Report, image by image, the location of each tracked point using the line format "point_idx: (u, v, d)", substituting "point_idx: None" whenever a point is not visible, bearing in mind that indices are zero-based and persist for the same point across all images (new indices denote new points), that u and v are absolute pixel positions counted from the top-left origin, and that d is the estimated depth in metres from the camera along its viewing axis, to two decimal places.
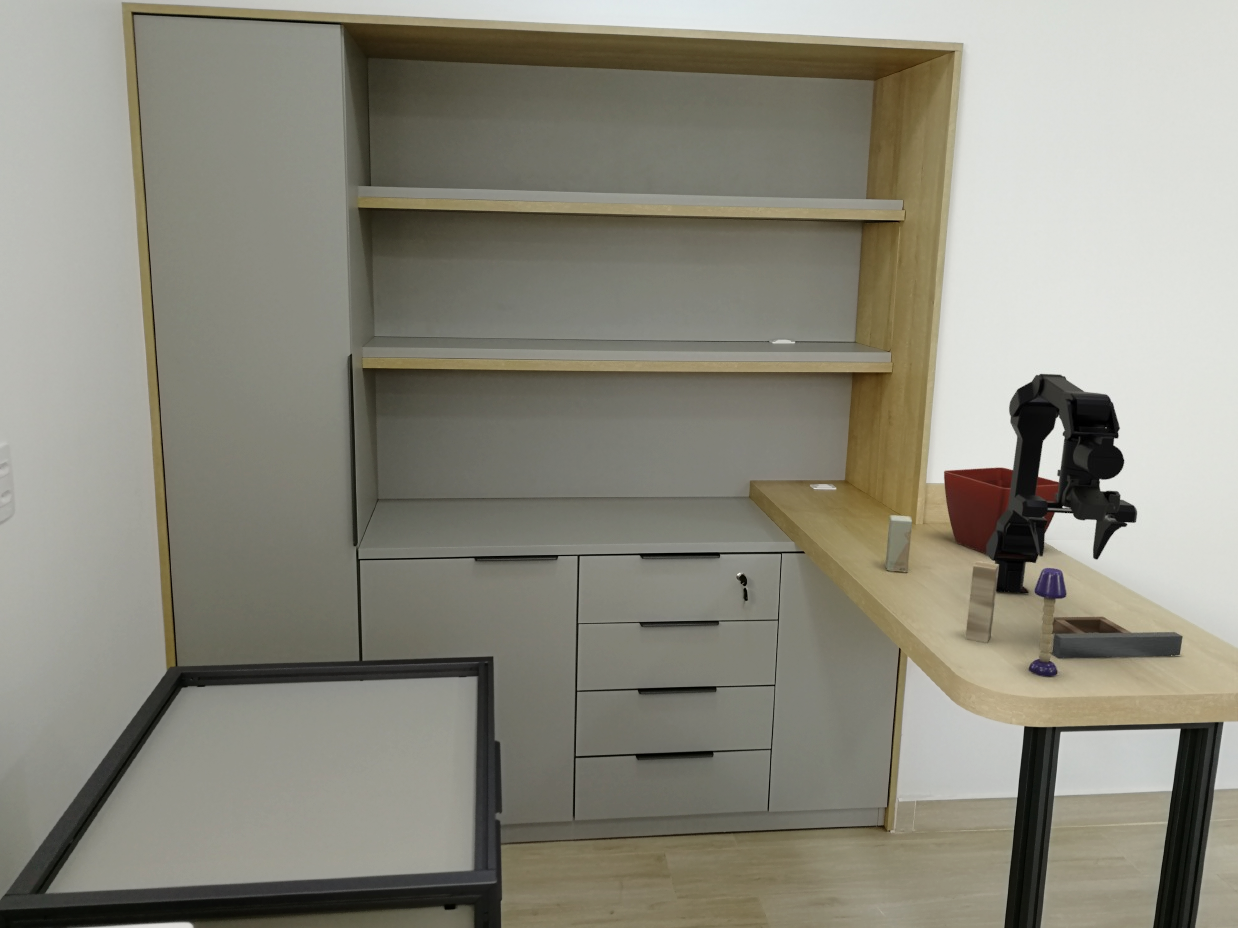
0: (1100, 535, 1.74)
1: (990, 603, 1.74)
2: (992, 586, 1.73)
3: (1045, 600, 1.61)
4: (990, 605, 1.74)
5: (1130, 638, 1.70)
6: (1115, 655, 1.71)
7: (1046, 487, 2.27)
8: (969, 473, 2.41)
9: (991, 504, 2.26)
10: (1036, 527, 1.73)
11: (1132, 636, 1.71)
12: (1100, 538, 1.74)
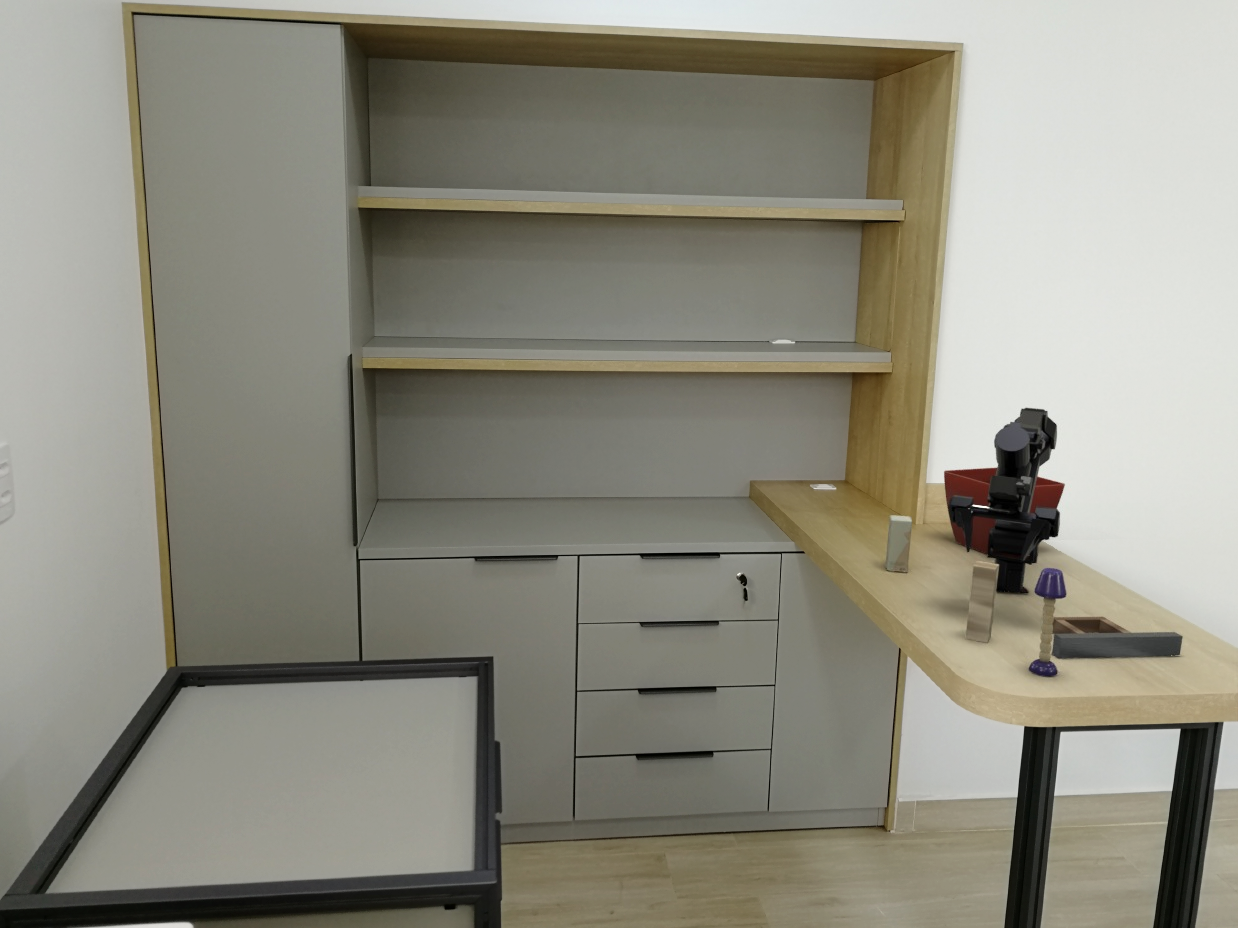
0: None
1: (990, 603, 1.74)
2: (992, 586, 1.73)
3: (1045, 600, 1.61)
4: (990, 605, 1.74)
5: (1130, 638, 1.70)
6: (1115, 655, 1.71)
7: (1046, 487, 2.27)
8: (969, 473, 2.41)
9: None
10: (962, 520, 1.86)
11: (1132, 636, 1.71)
12: None
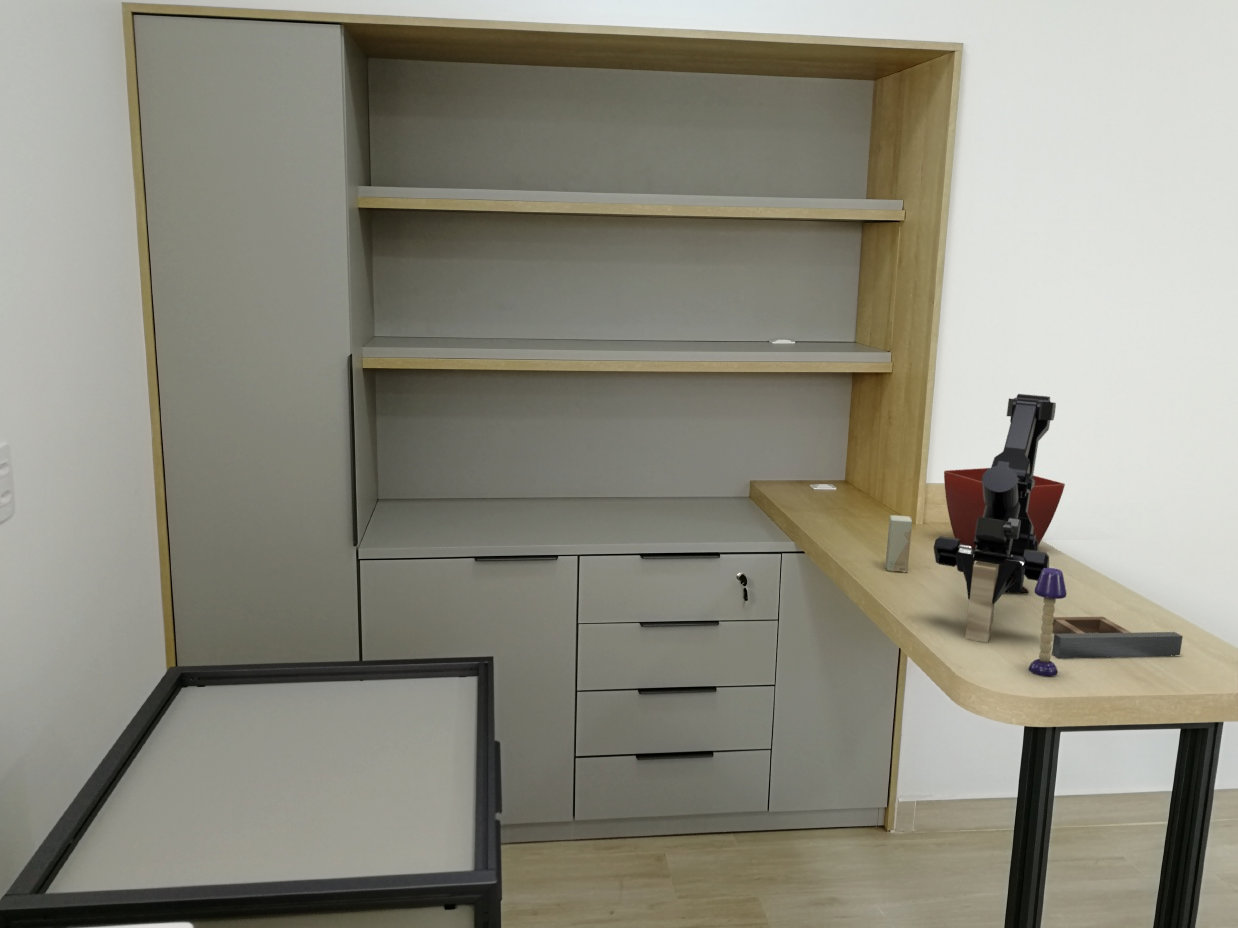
0: None
1: (990, 603, 1.74)
2: (992, 586, 1.73)
3: (1045, 600, 1.61)
4: (990, 605, 1.74)
5: (1130, 638, 1.70)
6: (1115, 655, 1.71)
7: (1046, 487, 2.27)
8: (969, 473, 2.41)
9: None
10: (964, 565, 1.78)
11: (1132, 636, 1.71)
12: (998, 581, 1.75)
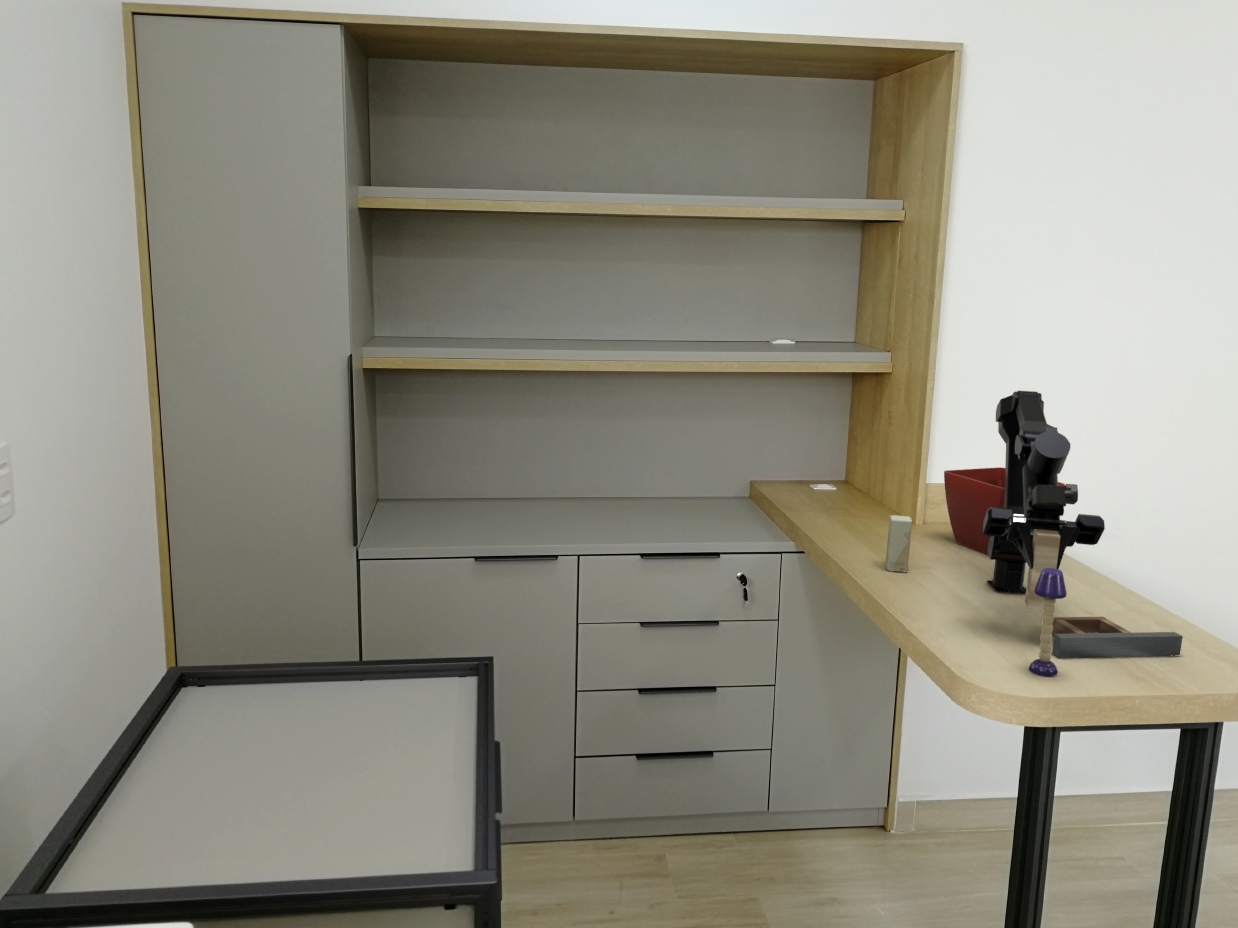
0: None
1: None
2: (1057, 553, 1.71)
3: (1045, 600, 1.61)
4: None
5: (1130, 638, 1.70)
6: (1115, 655, 1.71)
7: None
8: (969, 473, 2.41)
9: (991, 504, 2.26)
10: (1021, 534, 1.75)
11: (1132, 636, 1.71)
12: None
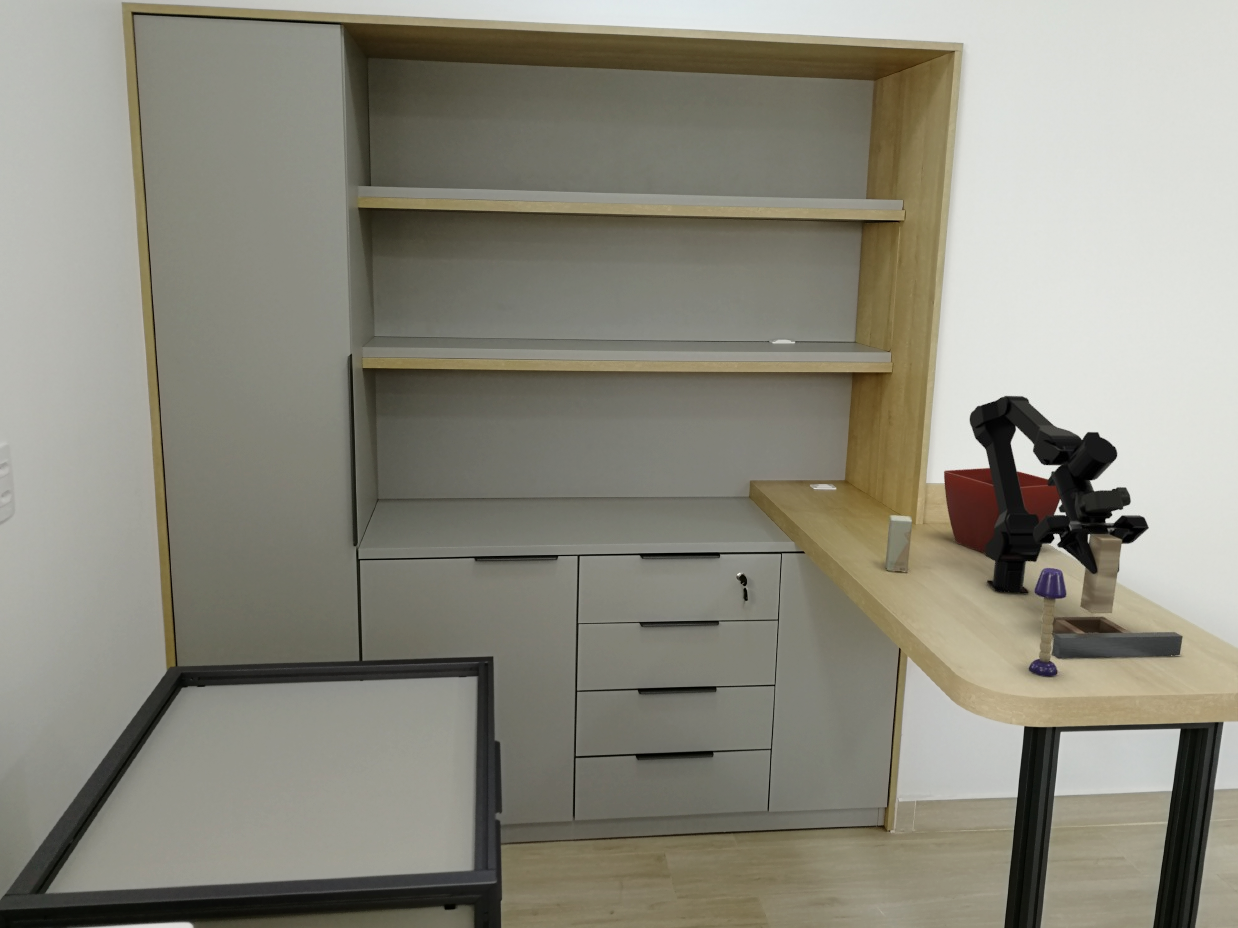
0: None
1: (1116, 574, 1.74)
2: (1118, 557, 1.74)
3: (1045, 600, 1.61)
4: (1116, 576, 1.75)
5: (1130, 638, 1.70)
6: (1115, 655, 1.71)
7: (1046, 487, 2.27)
8: (969, 473, 2.41)
9: (991, 504, 2.26)
10: (1080, 540, 1.76)
11: (1132, 636, 1.71)
12: None
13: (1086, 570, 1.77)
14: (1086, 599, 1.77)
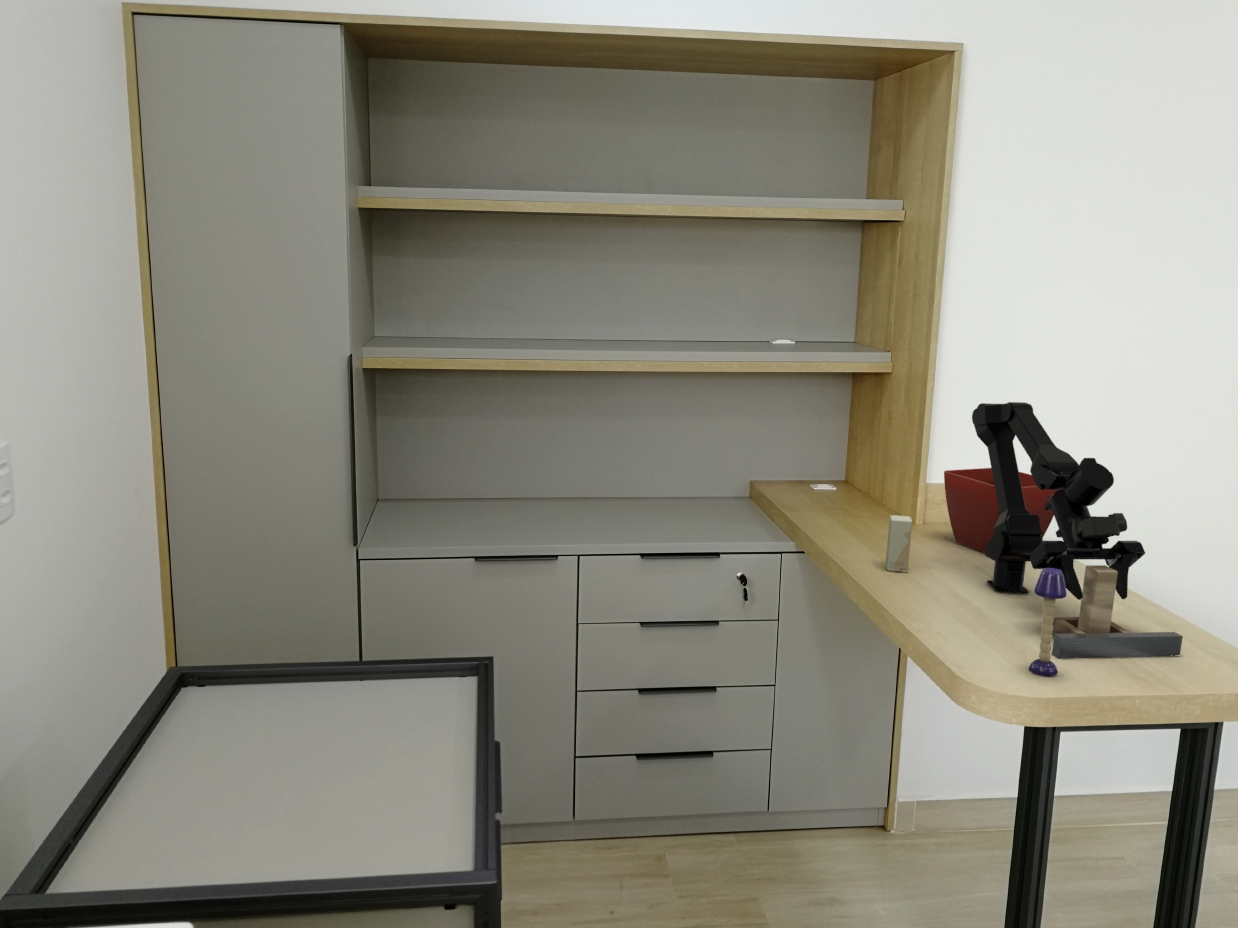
0: (1118, 575, 1.78)
1: (1112, 605, 1.75)
2: (1114, 588, 1.75)
3: (1045, 600, 1.61)
4: (1112, 607, 1.76)
5: (1130, 638, 1.70)
6: (1115, 655, 1.71)
7: None
8: (969, 473, 2.41)
9: (991, 504, 2.26)
10: (1065, 566, 1.76)
11: (1132, 636, 1.71)
12: (1119, 576, 1.78)
13: (1082, 601, 1.78)
14: (1082, 630, 1.78)
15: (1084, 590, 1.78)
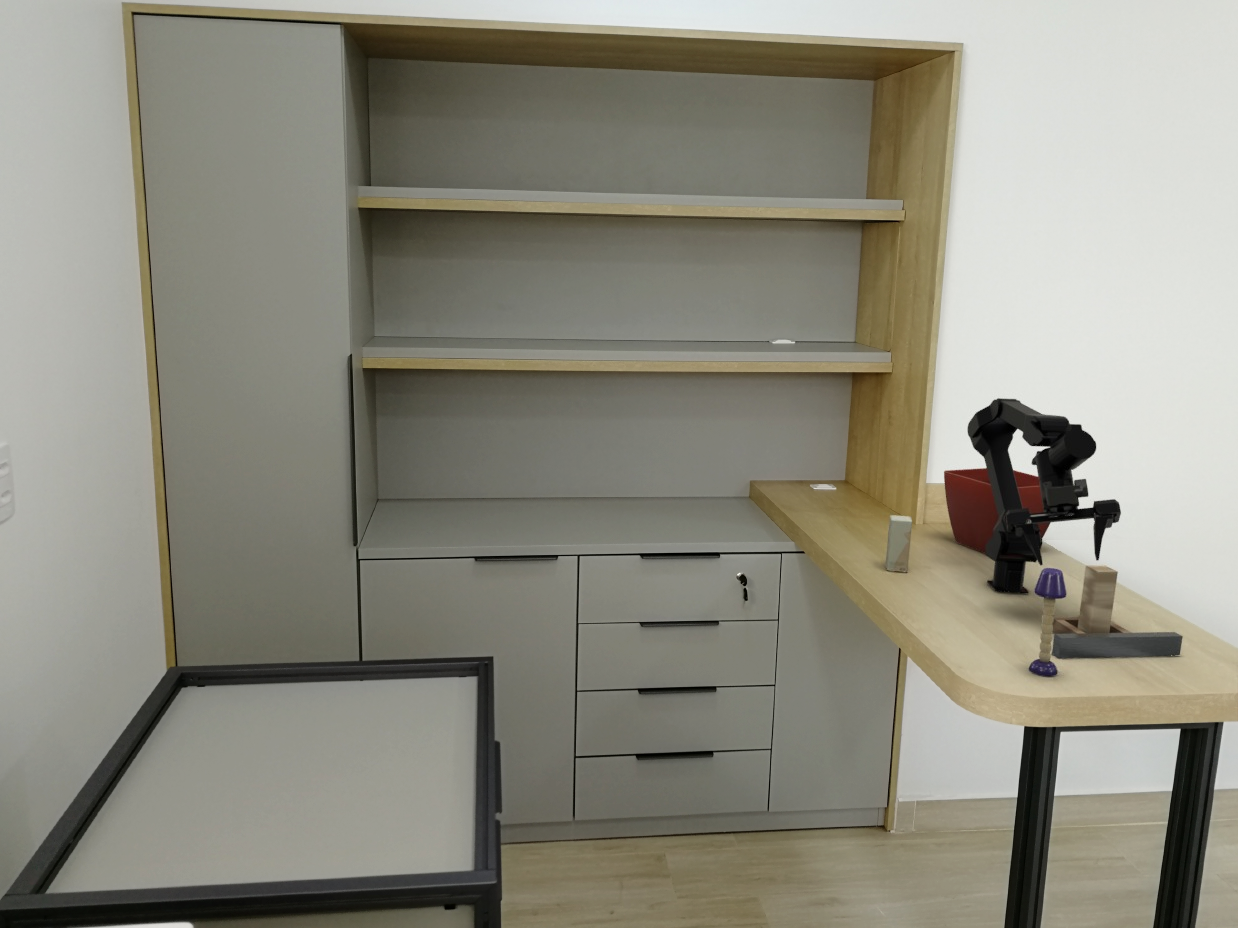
0: None
1: (1112, 605, 1.75)
2: (1114, 588, 1.75)
3: (1045, 600, 1.61)
4: (1111, 607, 1.76)
5: (1130, 638, 1.70)
6: (1115, 655, 1.71)
7: None
8: (969, 473, 2.41)
9: (991, 504, 2.26)
10: (1026, 534, 1.84)
11: (1132, 636, 1.71)
12: (1095, 538, 1.81)
13: (1082, 601, 1.78)
14: (1082, 630, 1.78)
15: (1084, 590, 1.78)
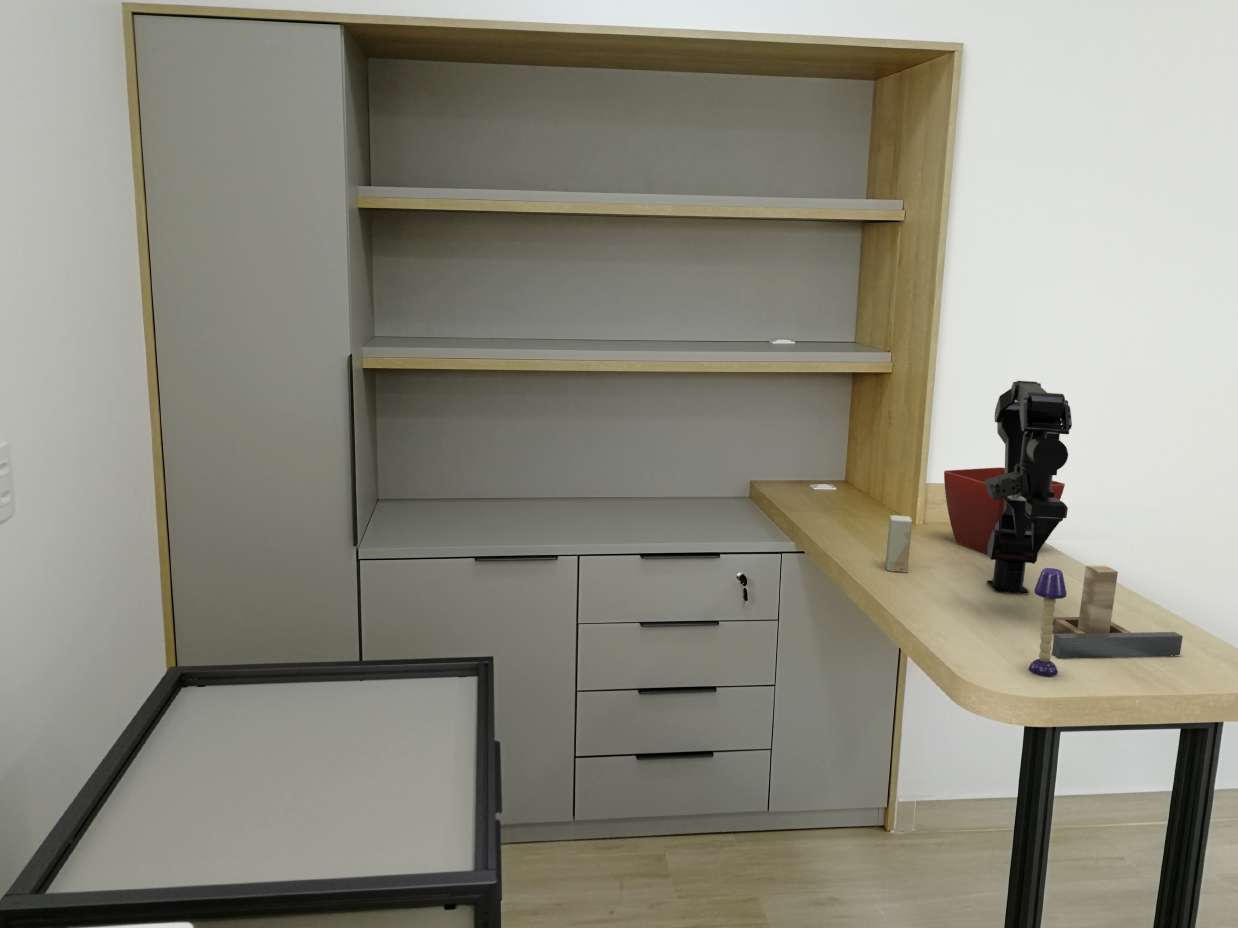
0: None
1: (1112, 605, 1.75)
2: (1114, 588, 1.75)
3: (1045, 600, 1.61)
4: (1112, 607, 1.76)
5: (1130, 638, 1.70)
6: (1115, 655, 1.71)
7: None
8: (969, 473, 2.41)
9: (991, 504, 2.26)
10: (1011, 507, 1.95)
11: (1132, 636, 1.71)
12: None
13: (1082, 601, 1.78)
14: (1082, 630, 1.78)
15: (1084, 590, 1.78)
